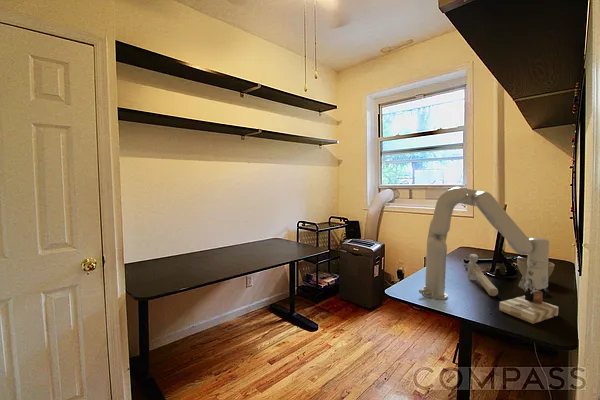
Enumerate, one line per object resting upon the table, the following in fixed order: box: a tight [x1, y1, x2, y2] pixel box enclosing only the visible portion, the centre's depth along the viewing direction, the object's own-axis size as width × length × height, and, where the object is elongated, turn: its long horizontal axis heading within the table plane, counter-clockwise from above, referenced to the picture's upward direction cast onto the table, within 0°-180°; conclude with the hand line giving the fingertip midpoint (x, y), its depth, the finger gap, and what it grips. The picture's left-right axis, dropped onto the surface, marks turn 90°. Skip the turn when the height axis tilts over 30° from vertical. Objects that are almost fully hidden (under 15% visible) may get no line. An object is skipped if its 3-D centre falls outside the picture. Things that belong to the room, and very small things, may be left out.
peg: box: [527, 289, 543, 305], centre depth 135 cm, size 6×6×9 cm
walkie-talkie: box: [463, 264, 489, 275], centre depth 197 cm, size 9×4×20 cm
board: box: [498, 295, 559, 324], centre depth 133 cm, size 20×14×4 cm
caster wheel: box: [517, 275, 550, 297], centre depth 159 cm, size 7×11×10 cm
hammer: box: [467, 253, 499, 297], centre depth 166 cm, size 16×5×30 cm
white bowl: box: [516, 257, 555, 278], centre depth 178 cm, size 18×18×12 cm
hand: (534, 299), depth 135 cm, fingers open, 9 cm apart
